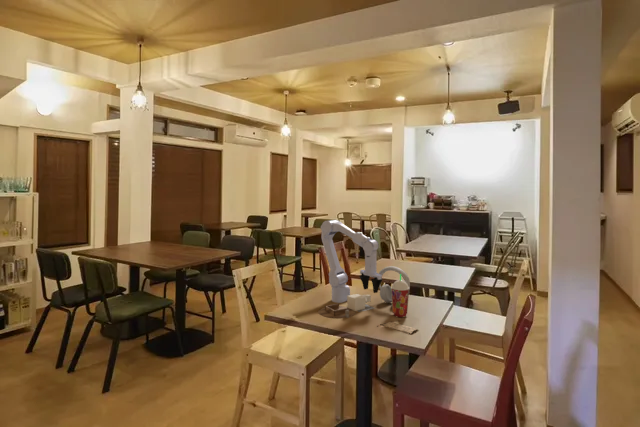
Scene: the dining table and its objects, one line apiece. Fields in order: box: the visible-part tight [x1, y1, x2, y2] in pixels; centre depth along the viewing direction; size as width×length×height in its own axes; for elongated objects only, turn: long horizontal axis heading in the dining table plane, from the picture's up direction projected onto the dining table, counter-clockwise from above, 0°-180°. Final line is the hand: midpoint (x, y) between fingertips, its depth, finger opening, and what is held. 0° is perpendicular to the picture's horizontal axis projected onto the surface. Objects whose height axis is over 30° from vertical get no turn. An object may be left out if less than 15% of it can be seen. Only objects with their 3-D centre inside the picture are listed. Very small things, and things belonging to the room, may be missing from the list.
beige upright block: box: [346, 293, 372, 312], centre depth 193 cm, size 12×6×6 cm, turn 122°
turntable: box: [318, 303, 357, 320], centre depth 186 cm, size 18×18×4 cm
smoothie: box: [391, 274, 410, 318], centre depth 184 cm, size 8×8×20 cm
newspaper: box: [379, 321, 419, 335], centre depth 172 cm, size 24×7×2 cm, turn 46°
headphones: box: [378, 265, 411, 304], centre depth 202 cm, size 18×8×20 cm, turn 50°
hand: (370, 290), depth 193 cm, fingers open, 7 cm apart
